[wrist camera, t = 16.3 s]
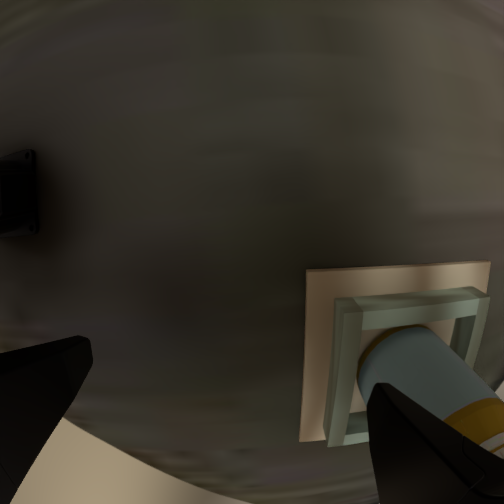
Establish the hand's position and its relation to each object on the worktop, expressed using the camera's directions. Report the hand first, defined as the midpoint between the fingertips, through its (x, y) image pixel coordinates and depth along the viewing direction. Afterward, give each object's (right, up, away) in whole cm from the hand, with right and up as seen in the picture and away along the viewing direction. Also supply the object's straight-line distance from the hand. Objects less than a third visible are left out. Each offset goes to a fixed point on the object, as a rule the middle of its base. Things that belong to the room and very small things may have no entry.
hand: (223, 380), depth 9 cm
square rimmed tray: (+12, -4, +13) cm, 18 cm away
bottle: (+12, -4, +12) cm, 17 cm away
